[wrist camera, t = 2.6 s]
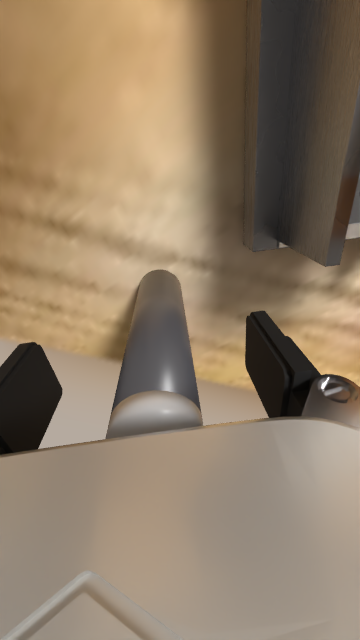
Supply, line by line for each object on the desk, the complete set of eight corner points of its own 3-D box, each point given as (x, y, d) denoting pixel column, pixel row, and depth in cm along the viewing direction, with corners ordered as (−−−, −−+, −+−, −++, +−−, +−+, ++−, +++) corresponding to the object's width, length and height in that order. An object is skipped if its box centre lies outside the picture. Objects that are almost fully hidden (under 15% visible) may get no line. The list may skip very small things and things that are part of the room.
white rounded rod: (178, 267, 17) (201, 406, 7) (183, 305, 18) (208, 468, 8) (135, 272, 17) (91, 420, 7) (143, 310, 19) (118, 479, 8)
